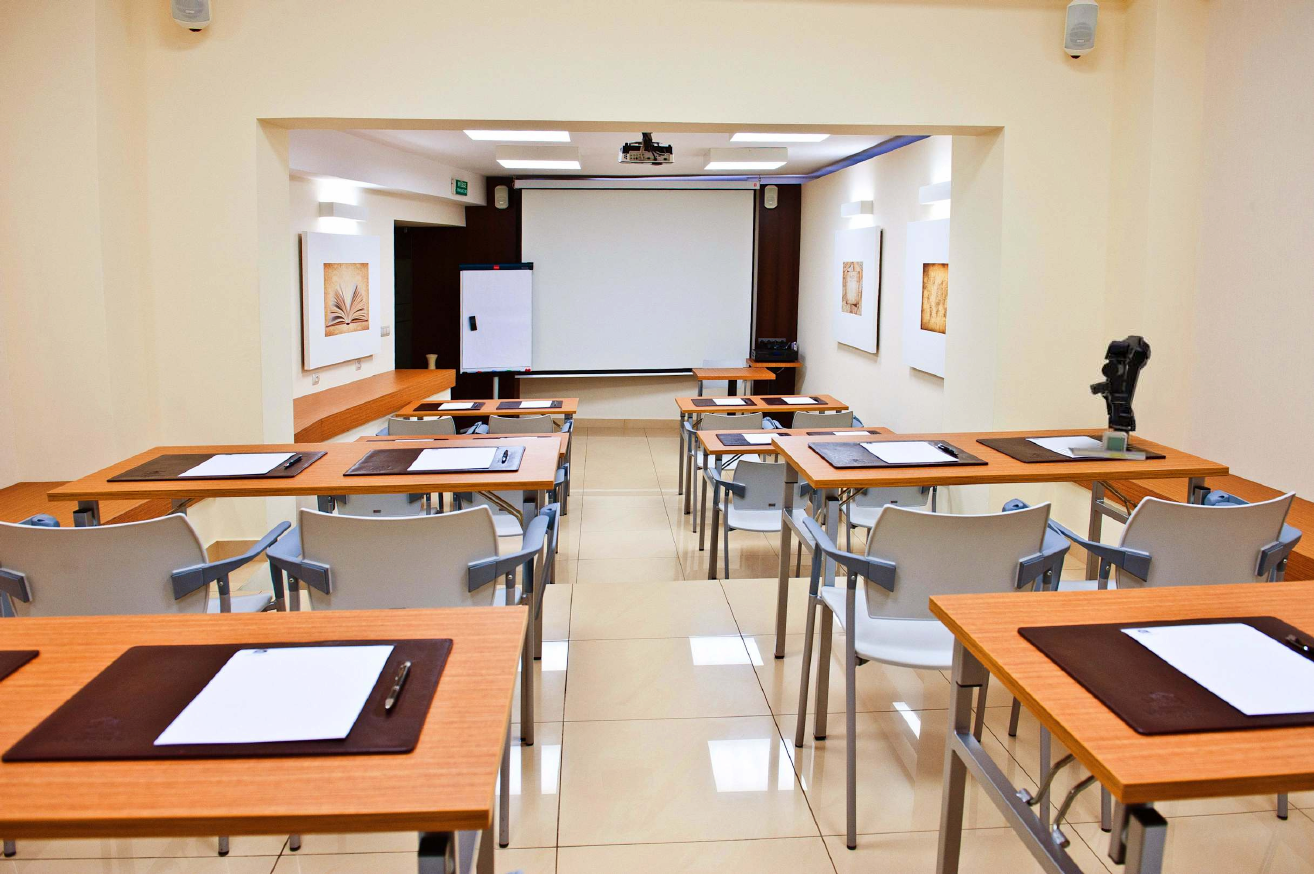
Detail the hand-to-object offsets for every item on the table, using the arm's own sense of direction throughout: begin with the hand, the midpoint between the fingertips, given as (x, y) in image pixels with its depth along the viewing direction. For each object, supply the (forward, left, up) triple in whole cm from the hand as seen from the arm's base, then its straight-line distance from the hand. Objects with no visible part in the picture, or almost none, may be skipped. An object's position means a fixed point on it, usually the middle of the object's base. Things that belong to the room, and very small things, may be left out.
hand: (1111, 417), depth 335 cm
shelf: (+9, -3, -13) cm, 16 cm away
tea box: (+9, 0, -12) cm, 15 cm away
